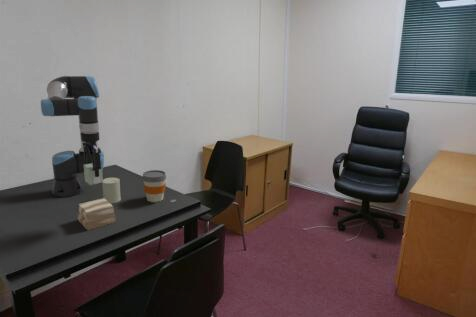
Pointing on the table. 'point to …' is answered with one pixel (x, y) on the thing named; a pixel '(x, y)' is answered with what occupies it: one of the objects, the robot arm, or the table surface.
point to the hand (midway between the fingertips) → (94, 180)
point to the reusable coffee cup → (154, 185)
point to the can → (111, 189)
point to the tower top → (96, 209)
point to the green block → (91, 174)
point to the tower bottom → (96, 221)
